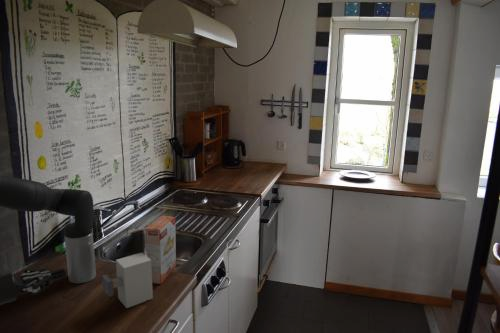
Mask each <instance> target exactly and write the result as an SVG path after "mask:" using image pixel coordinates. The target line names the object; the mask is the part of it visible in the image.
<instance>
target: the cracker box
mask: <svg viewBox="0 0 500 333" xmlns="http://www.w3.org/2000/svg"><path fill="white" fill-rule="evenodd" d="M176 239H177V237H176V216H170V215H169V216H167V215H161V216H159V218H157V219H156V220H155V221H153V222H152V223H151V224H150V225H149V226H147V227H146V228H145V255H146V256H147V257H148V258H149V259H151V266H152V284H157V285H162V284H163V283H164V281H165V280H166V279H167V278H168V276H170V274H171V273H172V272H173V271H174V270H175V269H176V267H177V262H176V260H177V255H176V254H177V253H176V252H177V250H176V249H177V248H176V242H177V240H176Z"/></svg>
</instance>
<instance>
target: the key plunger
mask: <svg viewBox="0 0 500 333" xmlns="http://www.w3.org/2000/svg"><path fill="white" fill-rule="evenodd" d="M101 278H102V280H101V281H102V290H103V292H104V293H105V294H106V295H107V297H108V298H109V297H112V296H114V289H115V288H118V286H121V285H123V279H122V278H121V277H118V278H117V277H115V278H111V277H110V276H109V275H108V274H107V273H106V274H104V275H101Z"/></svg>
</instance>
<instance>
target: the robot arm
mask: <svg viewBox="0 0 500 333" xmlns="http://www.w3.org/2000/svg"><path fill="white" fill-rule="evenodd" d="M0 207H2V208H6V209H10V210H14V211H22V212H30V213H31V212H33V213H34V212H42V211H50V212H53V213H56V214H60V215H63V216H69V217H70V216H71V217H74V222H71V223H69V224H67V225H65V226H64V228H63V233H64V245H65V256H66V264H67V271H66V269H65V268H63V267H62V268H57V269H53V270H51V271H50V270H47V269H46V268H25V269H23V273H22V274H21V273H20V274H17V275H14V273H12V272H7V273H3V274H0V305H4V304H7V303H11V302H14V301H16V300H17V299H18V295H22V294H28V293H30V292H31V293H32V296H37V295H39V294H40V293H41V292H43V291H44V290H46V289H47V288H49V287H50V286H51V285H52V282H53V281H56V280H58V279H63V278H65V277H66V275H67V276H68V281H69V282H70V283H72V284H84V283H87V282H90V281H92V280H93V279H95V277H96V276H97V272H96V271H97V270H96V259H95V246H94V232H93V228H94V223H95V222H94V220H95V218H94V198H93V195H92V194H91V192H90V191H88V190H86V189H85V190H83V189H75V188H52V187H48V186H47V185H46V184H44V183H42V182H39V181H35V180H31V179H27V178H26V179H25V178H19V177H13V176H12V177H11V176H4V175H0ZM66 272H67V274H66Z"/></svg>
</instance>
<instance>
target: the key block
mask: <svg viewBox="0 0 500 333" xmlns="http://www.w3.org/2000/svg"><path fill="white" fill-rule="evenodd" d="M115 267H116V278H118V277H121V278H122V279H123V285H121V286H118V287H117V297H118V300H119V301H120V302H121V303H122V305H123V307H125V308H126V309H128V308H132V307H134V306H137V305H140V304H142V303H145V302H147V300H148V301H149V300H153V298H154V297H153V294H154V293H153V290H154V289H153V283H152V266H151V259H149V258H148V257H147V256H146V253H144V252H138V253H135V254H132V255H127V256H125V257H122V258H121V257H120V258H118V259H115Z"/></svg>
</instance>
